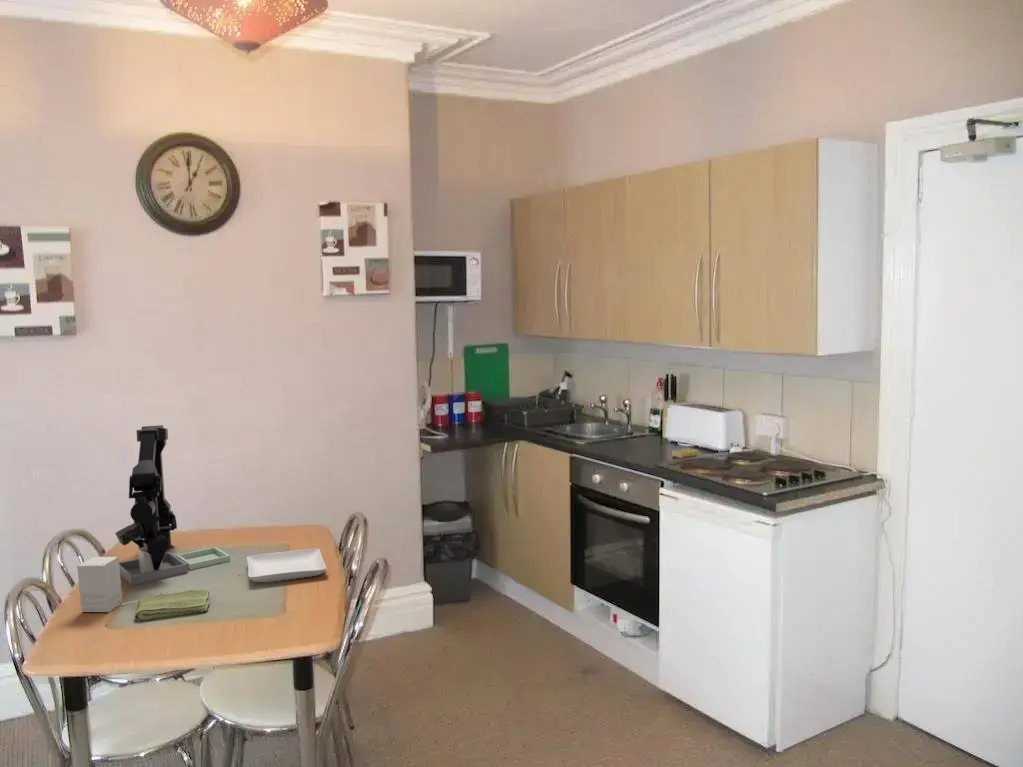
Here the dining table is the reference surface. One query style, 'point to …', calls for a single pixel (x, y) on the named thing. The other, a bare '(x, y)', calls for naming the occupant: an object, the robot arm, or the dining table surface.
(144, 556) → the block
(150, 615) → the washcloth
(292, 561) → the salad plate
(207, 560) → the holder
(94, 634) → the dining table surface
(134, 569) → the gray square tray
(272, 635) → the dining table surface
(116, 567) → the supplement box
